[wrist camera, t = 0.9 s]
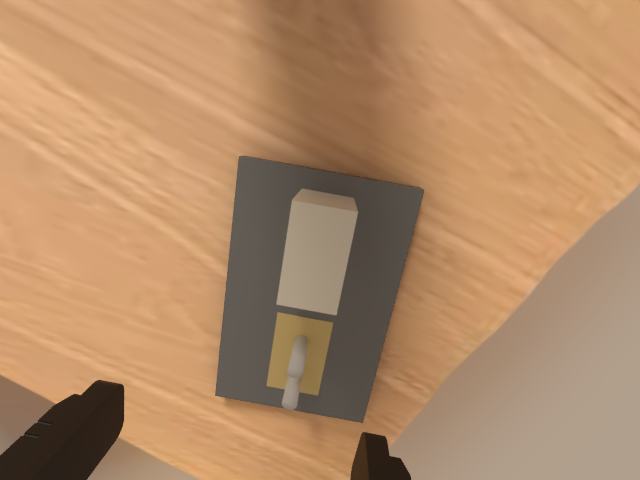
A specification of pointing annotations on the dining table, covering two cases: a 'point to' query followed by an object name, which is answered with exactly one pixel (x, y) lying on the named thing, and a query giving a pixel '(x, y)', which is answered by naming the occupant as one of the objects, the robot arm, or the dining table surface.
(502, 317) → the dining table surface
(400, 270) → the board
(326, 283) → the block
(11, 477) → the robot arm
